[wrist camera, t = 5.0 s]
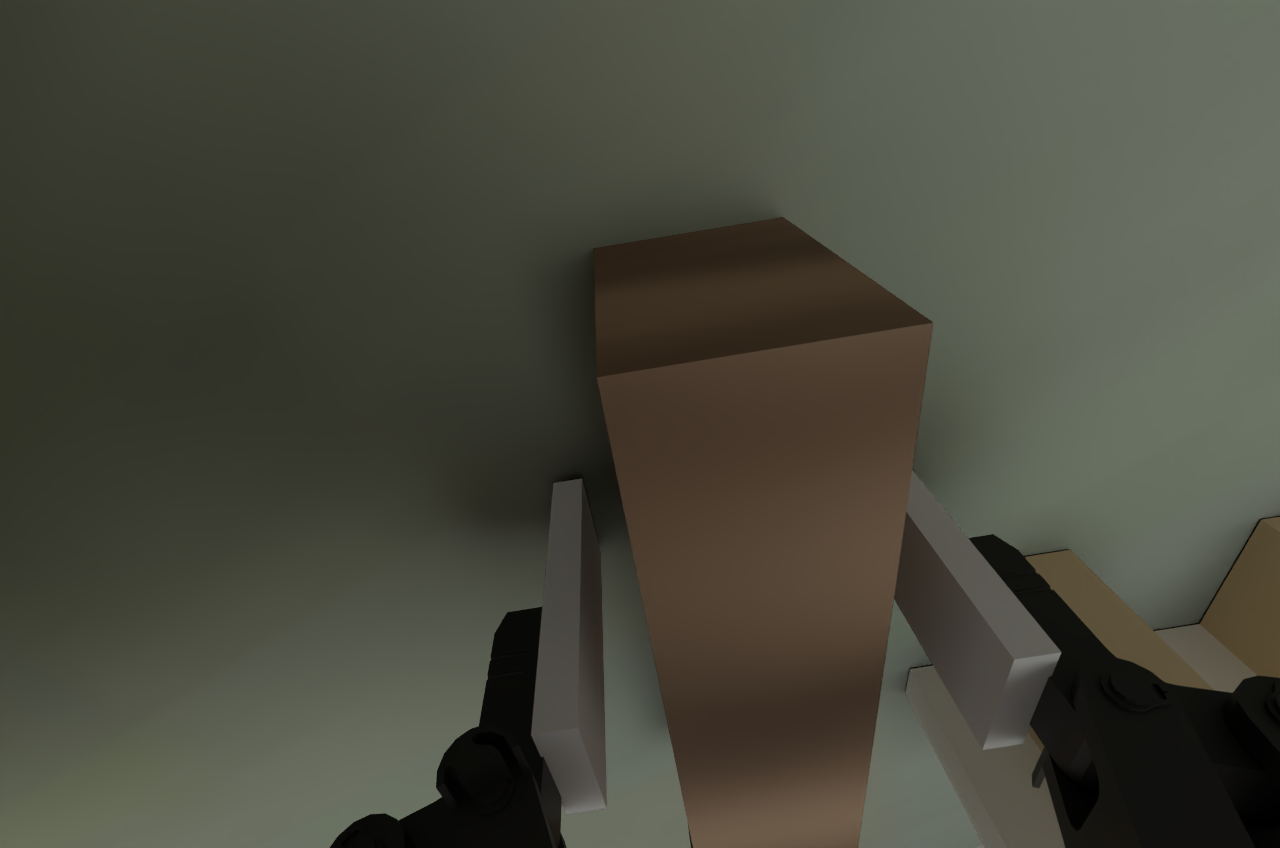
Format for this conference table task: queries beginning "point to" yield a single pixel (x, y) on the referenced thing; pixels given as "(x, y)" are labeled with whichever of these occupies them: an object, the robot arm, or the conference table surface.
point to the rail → (762, 511)
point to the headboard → (1186, 656)
